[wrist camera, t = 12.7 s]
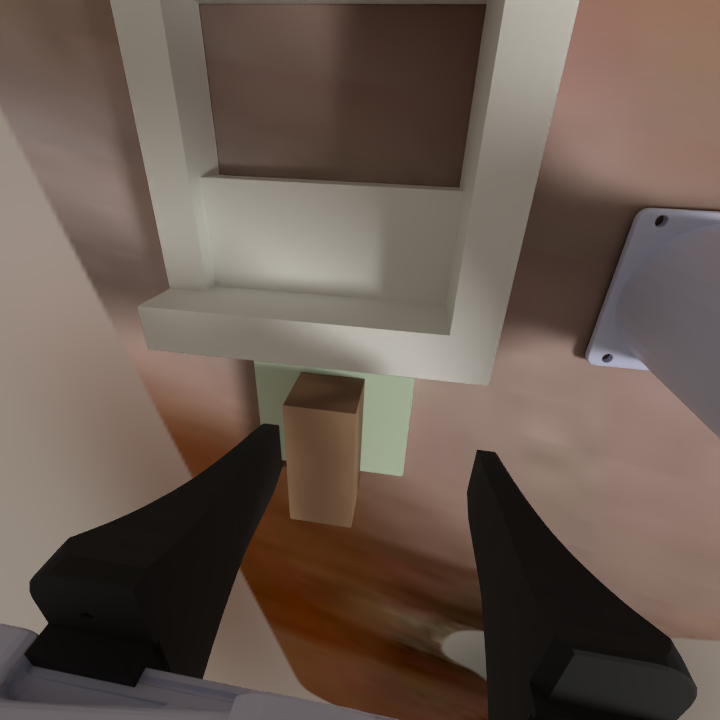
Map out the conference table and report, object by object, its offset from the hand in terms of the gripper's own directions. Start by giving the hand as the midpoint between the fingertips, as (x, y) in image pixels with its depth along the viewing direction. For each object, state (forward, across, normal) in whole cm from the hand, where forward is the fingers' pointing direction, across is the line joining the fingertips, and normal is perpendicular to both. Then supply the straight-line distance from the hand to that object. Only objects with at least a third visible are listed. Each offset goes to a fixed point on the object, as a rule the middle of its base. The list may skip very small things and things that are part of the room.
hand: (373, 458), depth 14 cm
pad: (+10, +4, +6) cm, 12 cm away
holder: (+10, +4, -8) cm, 13 cm away
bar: (+9, +4, +7) cm, 12 cm away
